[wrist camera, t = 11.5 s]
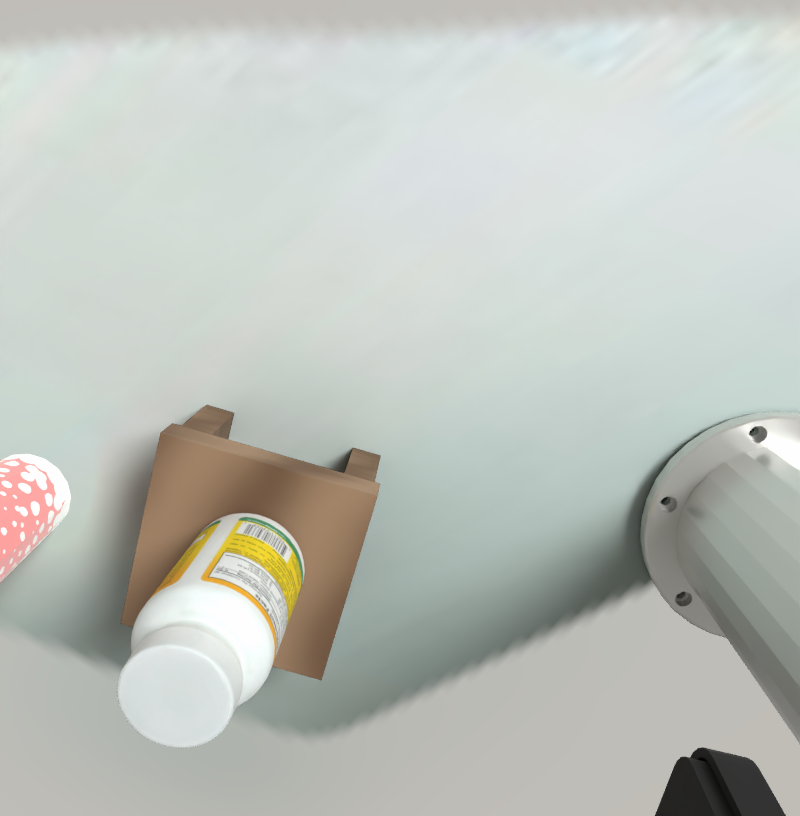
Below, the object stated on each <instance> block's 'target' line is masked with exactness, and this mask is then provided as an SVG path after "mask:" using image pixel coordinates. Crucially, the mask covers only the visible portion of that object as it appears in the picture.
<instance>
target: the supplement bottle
mask: <svg viewBox="0 0 800 816" xmlns="http://www.w3.org/2000/svg"><path fill="white" fill-rule="evenodd" d="M304 572H305V569H304V560H303V556H302V553H301V550H300V548H299V546H298V544H297V542H296V541H295V539H294V538H293V537H292V536H291V534H290V533H289V532H288V531H287V530H286V529H285V528H284V527H282V526H281V525H280V524H278V523H277V522H275V521H273V520H271V519H269V518H267V517H264V516H261V515H257V514H251V513H236V514H230V515H227V516H224V517H221V518H219V519H217V520H215V521H213V522H212V523H210V524H209V525H208V526H207V527H206V528H204V529H203V531H202V532H201V533H200V534H199V535H198V536H197V538H196V539H195V540H194V541H193V543H192V544H191V546H190V547H189V548H188V549H187V551H186V552H185V553H184V555H183V556H182V557H181V559H180V560H179V561H178V562H177V564H176V565H175V566H174V568H173V569H172V570H171V571H170V573H169V574H168V575H167V577H166V578H165V579H164V581H163V582H162V583H161V585H160V586H159V587H158V588H157V590H156V591H155V592H154V594H153V595H152V596H151V597H150V599H149V600H148V601H147V603H146V604H145V606H144V607H143V608H142V610H141V611H140V613H139V615H138V617H137V619H136V621H135V624H134V627H133V631H132V636H131V653H132V654H131V656H130V658H129V659H128V661H127V662H126V664H125V665H124V667H123V669H122V671H121V673H120V675H119V679H118V685H117V697H118V702H119V705H120V708H121V710H122V712H123V714H124V716H125V718H126V719H127V720H128V722H129V723H130V724H131V726H132V727H133V728H134V729H135V730H136V731H137V732H139V733H140V734H141V735H143V736H144V737H146V738H147V739H149V740H151V741H153V742H156V743H158V744H161V745H164V746H169V747H176V748H187V747H194V746H198V745H201V744H204V743H207V742H209V741H210V740H212V739H213V738H215V737H216V736H217V735H218V734H220V733H221V732H222V731H223V729H224V728H225V727H226V726H227V724H228V723H229V721H230V719H231V717H232V715H233V713H234V711H235V708H236V707H237V706H239V705H241V704H243V703H244V702H246V701H247V700H248V699H250V698H251V697H252V696H253V695H254V694H255V693H256V692H257V691H258V690H259V689H260V688H261V686H262V685H263V683H264V682H265V680H266V679H267V677H268V675H269V673H270V670H271V668H272V665H273V663H274V660H275V657H276V655H277V652H278V649H279V646H280V644H281V641H282V638H283V636H284V633H285V630H286V627H287V625H288V622H289V619H290V617H291V614H292V611H293V609H294V606H295V603H296V601H297V598H298V596H299V593H300V590H301V587H302V584H303V580H304Z"/></svg>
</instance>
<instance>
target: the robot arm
mask: <svg viewBox="0 0 800 816" xmlns="http://www.w3.org/2000/svg"><path fill="white" fill-rule="evenodd" d="M754 427H755V430H754V431H753V432H752V433H750V434H749V432H750V430H751V429H752V428H754ZM665 497H668V499H667V500H666V501H664V502H661V500H662V499H663V498H665ZM640 541H641V547H642V553H643V558H644V562H645V564H646V567H647V569H648V572H649V574H650V577H651V579H652V581H653V582H654V584H655V585H656V587H657V589H658V590H659V592H660V594H661V596H662V597H663V598H664V599H665V600H666V602H667V603H668V604H669V605H670V607H671V608H672V609H673V610H674V611H676V612H677V613H678V614H679V615H681V616H682V617H683V618H685V619H686V620H687V621H689V622H690V623H691V624H693V625H696V626H697V627H699V628H701V629H703V630H705V631H707V632H709V633H712V634H715V635H719V636H722V637H726V638H727V639H728V640H729V642H730V643H731V645H732V646H733V647H734V649H735V650H736V652H737V653H738V655H739V656H740V658H741V659H742V661H743V662H744V663H745V665H746V666H747V668H748V669H749V670H750V672H751V674H752V675H753V677H754V678H755V679H756V681H757V682H758V684H759V685H760V686H761V688H762V690H763V691H764V692H765V694H766V695H767V697H768V698H769V699H770V701H771V703H772V704H773V706H774V707H775V708H776V710H777V711H778V713H779V714H780V716H781V717H782V718H783V720H784V721H785V723H786V724H787V726H788V727H789V729H790V730H791V731H792V733H793V735H794V736H795V737H796V739H797V740H798V742H799V743H800V413H792V412H782V411H775V412H762V413H753V414H749V415H745V416H741V417H737V418H733V419H730V420H728V421H725V422H723V423H721V424H719V425H716V426H714V427H712V428H710V429H708V430H706V431H705V432H703V433H702V434H700V435H699V436H697V437H696V438H694V439H693V440H691V441H690V442H688V443H687V444H686V445H685V446H684V447H683V448H682V449H681V450H679V451H678V452H677V453H676V454H675V455H674V456H673V457H672V458H671V459H670V460H669V462H668V463H667V464H666V466H665V467H664V468H663V470H662V471H661V473H660V474H659V475H658V477H657V478H656V480H655V482H654V484H653V486H652V488H651V490H650V493H649V495H648V497H647V499H646V503H645V507H644V511H643V515H642V519H641V538H640ZM680 592H681V593H680ZM678 593H679V594H678ZM655 816H786V815H785V814H784V812H783V810H782V808H781V807H780V805H779V803H778V801H777V800H776V798H775V796H774V794H773V793H772V791H771V789H770V787H769V786H768V784H767V782H766V780H765V779H764V777H763V775H762V773H761V772H760V770H759V768H758V767H757V765H756V764H755V763H754V762H753V761H752V760H750V759H748V758H746V757H741V756H737V755H733V754H729V753H724V752H720V751H715V750H711V749H707V748H698V749H697V750H696V751H694V752H693V754H692V755H691V757H690V758H688V757H681V758H680V759H679V760H678V761H677V762H676V764H675V766H674V769H673V771H672V774H671V776H670V779H669V781H668V784H667V786H666V789H665V792H664V794H663V797H662V799H661V802H660V805H659V807H658V809H657V812H656V814H655Z"/></svg>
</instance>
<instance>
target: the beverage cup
mask: <svg viewBox="0 0 800 816" xmlns="http://www.w3.org/2000/svg"><path fill="white" fill-rule="evenodd" d="M70 501H71V496H70V491H69V487H68V483H67V481H66V480H65V478H64V477H63V475H62V474H61V472H60V471H59V469H58V468H56V467H55V466H54V465H52V464H51V463H50V462H48V461H47V460H46V459H44V458H41V457H37V456H34V455H31V454H19V455H11V456H9V457H7V458H5V459H3V460H0V582H1V581H2V580H3V579H4V578H5V577H6V576H7V575H8V574H9V573H11V572H12V571H13V570H14V569H15V568H16V567H17V566H18V565H19V564H20V563H21V562H22V561H23V560H24V559H25V558H26V557H27V556H28V555H29V554H30V553H31V552H32V551H33V550H34V549H35V548H36V547H37V546H38V545H39V544H40V543H41V542H42V541H43V540H44V539H45V538H46V537H47V536H48V535H49V534H50V533H51V532H52V531H53V530H54V529H55V528H56V527H57V526H58V525H59V524H60V522H61V521H62V520H63V519H64V517H65V516H66V515H67V513H68V511H69V506H70Z"/></svg>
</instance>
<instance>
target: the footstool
mask: <svg viewBox="0 0 800 816" xmlns="http://www.w3.org/2000/svg"><path fill="white" fill-rule="evenodd" d="M233 416H234V413H233V412H229V411H226V410H223V409H219V408H216V407H212V406H209V405H206V406H205V407H203V408H202V409H201V410H200V411H199V412H197V413H196V414H195V415H194V416H193V417H191V418H190V419H189V420H188V421H187V422H185V423H184V424H183V425H182V426H180V425H177V424H173V423H172V424H171V425H170V426H169V427H167V428H166V429H165V430H163V431H162V432H161V433H160V438H159V442H158V447H157V452H156V457H155V461H154V466H153V471H152V476H151V480H150V485H149V490H148V495H147V500H146V504H145V509H144V514H143V519H142V523H141V528H140V533H139V538H138V543H137V547H136V552H135V557H134V562H133V566H132V571H131V576H130V581H129V585H128V590H127V595H126V600H125V605H124V609H123V614H122V619H121V624H124V625H127V626H131V627H134V624H135V621H136V619H137V617H138V615H139V613H140V611H141V610H142V608H143V607H144V606H145V604H146V603H147V601H148V600H149V599H150V597H151V596H152V595H153V594H154V592H155V591H156V590H157V588H158V587H159V586H160V585H161V583H162V582H163V581H164V579H165V578H166V577H167V575H168V574H169V573H170V571H171V570H172V569H173V568H174V566H175V565H176V564H177V562H178V561H179V560H180V559H181V557H182V556H183V555H184V553H185V552H186V551H187V549H188V548H189V547H190V546H191V544H192V543H193V541H194V540H195V539H196V538H197V536H198V535H199V534H200V533H201V532H202V531H203V529H204V528H206V527H207V526H208V525H209V524H210V523H212V522H213V521H215V520H217V519H219V518H221V517H224V516H227V515H230V514H236V513H251V514H257V515H261V516H264V517H267V518H269V519H271V520H273V521H275V522H277V523H278V524H280V525H281V526H282V527H284V528H285V529H286V530H287V531H288V532H289V533H290V534H291V536H292V537H293V538H294V539H295V541H296V542H297V544H298V546H299V548H300V550H301V553H302V556H303V560H304V569H305V572H304V580H303V584H302V587H301V590H300V593H299V596H298V598H297V601H296V603H295V606H294V609H293V611H292V614H291V617H290V619H289V622H288V625H287V627H286V630H285V633H284V636H283V638H282V641H281V644H280V646H279V649H278V652H277V655H276V657H275V660H274V663H273V665H272V666H273V667H276V668H280V669H283V670H287V671H290V672H294V673H297V674H301V675H304V676H308V677H312V678H315V679H319V680H322V676H323V673H324V670H325V667H326V663H327V660H328V657H329V653H330V650H331V647H332V644H333V640H334V637H335V634H336V630H337V627H338V624H339V621H340V617H341V614H342V611H343V608H344V604H345V601H346V598H347V594H348V591H349V588H350V585H351V581H352V578H353V575H354V571H355V568H356V565H357V562H358V558H359V555H360V552H361V549H362V545H363V542H364V539H365V535H366V532H367V529H368V526H369V522H370V519H371V516H372V513H373V509H374V506H375V503H376V499H377V496H378V491H379V486H380V484H379V483H376V482H375V478H376V474H377V469H378V465H379V460H380V455H377V454H373V453H370V452H366V451H363V450H359V449H356V448H353V450H352V453H351V456H350V458H349V461H348V464H347V467H346V470H345V473H341V472H338V471H335V470H331V469H328V468H324V467H321V466H317V465H314V464H310V463H307V462H304V461H300V460H297V459H293V458H290V457H286V456H283V455H280V454H276V453H273V452H269V451H266V450H262V449H259V448H256V447H252V446H249V445H245V444H242V443H238V442H235V441H231V440H228V437H229V433H230V429H231V425H232V420H233Z"/></svg>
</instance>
